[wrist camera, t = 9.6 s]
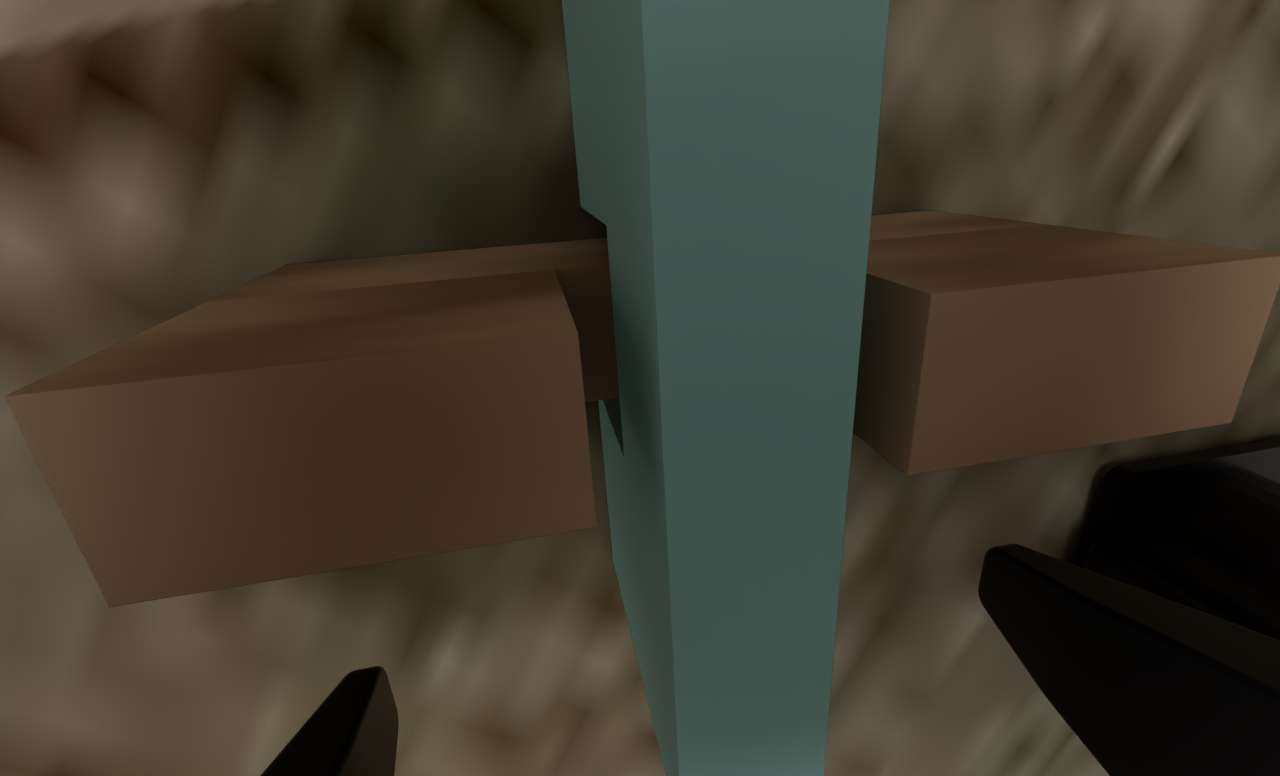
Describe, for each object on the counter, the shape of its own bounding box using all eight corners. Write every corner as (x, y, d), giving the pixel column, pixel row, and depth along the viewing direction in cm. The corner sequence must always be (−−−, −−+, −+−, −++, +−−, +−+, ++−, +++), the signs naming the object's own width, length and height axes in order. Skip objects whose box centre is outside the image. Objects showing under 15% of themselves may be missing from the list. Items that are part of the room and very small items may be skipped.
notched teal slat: (697, 545, 14) (821, 804, 8) (613, 560, 13) (681, 839, 8) (681, -90, 9) (929, -455, 4) (553, -90, 9) (617, -490, 3)
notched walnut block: (930, 210, 12) (1290, 254, 6) (918, 307, 13) (1231, 422, 7) (286, 264, 10) (3, 396, 4) (317, 375, 11) (110, 607, 5)
